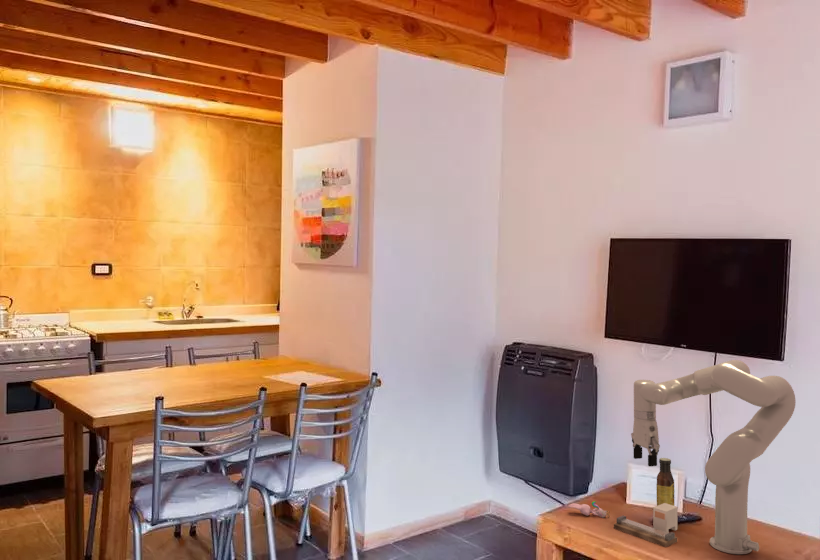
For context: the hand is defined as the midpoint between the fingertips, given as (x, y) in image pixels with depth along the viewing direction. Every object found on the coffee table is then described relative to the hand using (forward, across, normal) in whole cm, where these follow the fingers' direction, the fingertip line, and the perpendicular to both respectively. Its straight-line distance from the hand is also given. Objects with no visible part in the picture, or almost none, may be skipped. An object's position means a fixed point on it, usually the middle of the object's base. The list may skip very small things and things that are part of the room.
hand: (645, 462), depth 244 cm
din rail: (+20, -11, +7) cm, 24 cm away
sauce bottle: (+22, +6, -12) cm, 25 cm away
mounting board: (+22, -11, +7) cm, 25 cm away
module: (+22, -8, -3) cm, 23 cm away
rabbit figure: (+21, +9, +18) cm, 29 cm away
